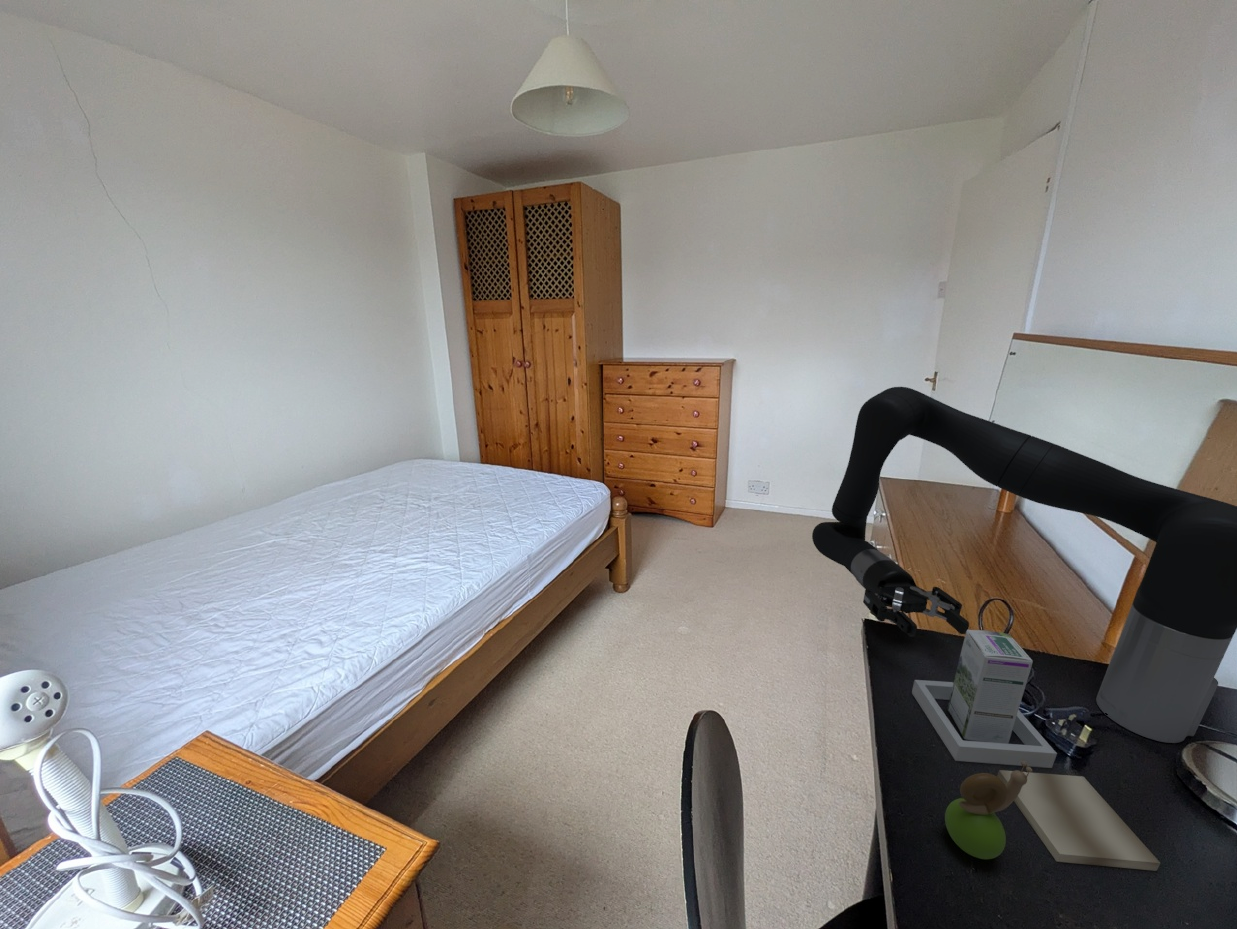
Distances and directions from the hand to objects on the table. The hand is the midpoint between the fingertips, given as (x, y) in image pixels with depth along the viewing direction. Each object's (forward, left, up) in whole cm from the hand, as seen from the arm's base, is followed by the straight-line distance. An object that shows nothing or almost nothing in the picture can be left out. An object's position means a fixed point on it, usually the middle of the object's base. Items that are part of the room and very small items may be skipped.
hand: (940, 630), depth 76 cm
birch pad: (-5, +23, -9) cm, 25 cm away
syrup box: (-2, +10, -9) cm, 14 cm away
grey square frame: (-2, +10, -9) cm, 13 cm away
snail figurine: (+8, +27, -9) cm, 30 cm away
